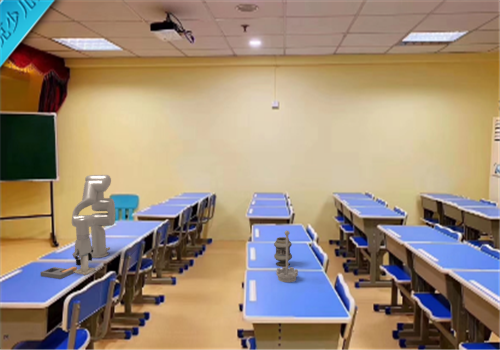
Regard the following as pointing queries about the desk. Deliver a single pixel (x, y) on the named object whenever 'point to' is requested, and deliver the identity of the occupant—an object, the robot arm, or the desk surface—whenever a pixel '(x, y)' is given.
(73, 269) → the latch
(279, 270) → the flag stand
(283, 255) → the apothecary jar
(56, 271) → the grey holder base
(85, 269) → the cylinder
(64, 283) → the desk surface
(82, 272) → the tray
